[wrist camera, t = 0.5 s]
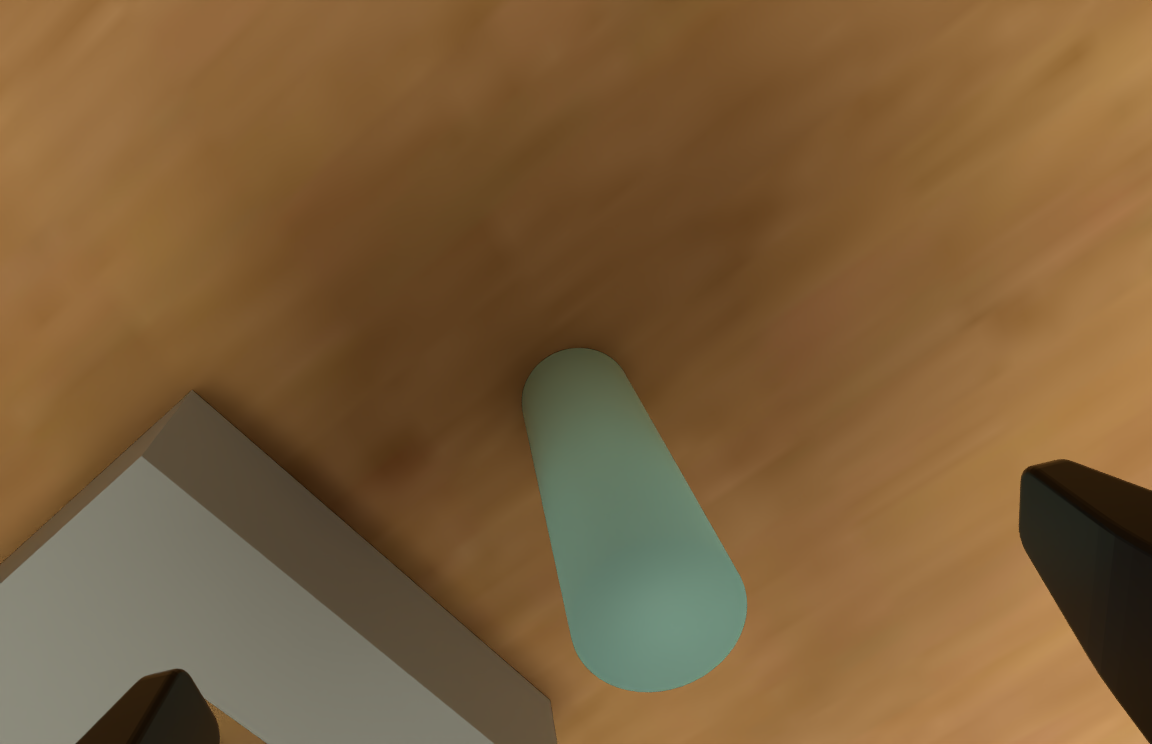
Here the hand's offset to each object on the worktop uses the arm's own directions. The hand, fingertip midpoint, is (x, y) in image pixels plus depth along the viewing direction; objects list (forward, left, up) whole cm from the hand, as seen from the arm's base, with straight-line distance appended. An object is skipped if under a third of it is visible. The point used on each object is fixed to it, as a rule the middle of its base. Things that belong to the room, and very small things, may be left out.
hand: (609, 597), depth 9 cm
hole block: (-14, -4, -14) cm, 20 cm away
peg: (-1, -4, -14) cm, 15 cm away
